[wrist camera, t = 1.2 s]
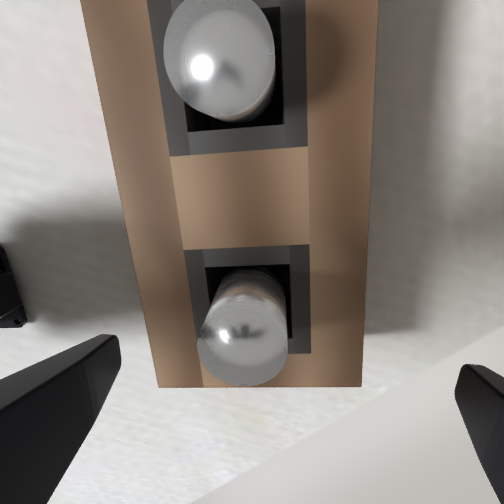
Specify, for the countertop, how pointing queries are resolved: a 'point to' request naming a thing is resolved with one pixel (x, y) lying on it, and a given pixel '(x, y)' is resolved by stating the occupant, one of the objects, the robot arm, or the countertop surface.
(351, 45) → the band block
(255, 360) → the peg tall
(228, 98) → the peg short
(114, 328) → the countertop surface
